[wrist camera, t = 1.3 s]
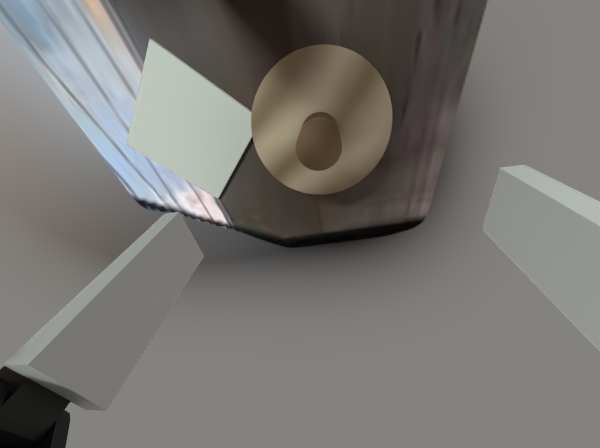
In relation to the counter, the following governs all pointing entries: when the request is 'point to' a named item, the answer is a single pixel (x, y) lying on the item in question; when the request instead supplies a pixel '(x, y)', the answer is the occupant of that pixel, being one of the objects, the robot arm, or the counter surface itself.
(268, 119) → the lid
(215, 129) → the mat
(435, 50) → the counter surface
